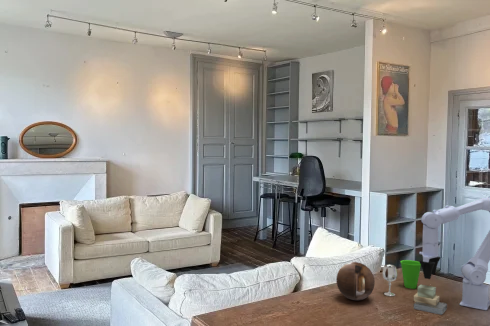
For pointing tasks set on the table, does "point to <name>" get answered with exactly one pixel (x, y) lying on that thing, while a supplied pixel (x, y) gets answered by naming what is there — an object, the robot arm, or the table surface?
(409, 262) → the cup
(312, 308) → the table surface
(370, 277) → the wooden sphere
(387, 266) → the wineglass
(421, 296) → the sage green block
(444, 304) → the dock
